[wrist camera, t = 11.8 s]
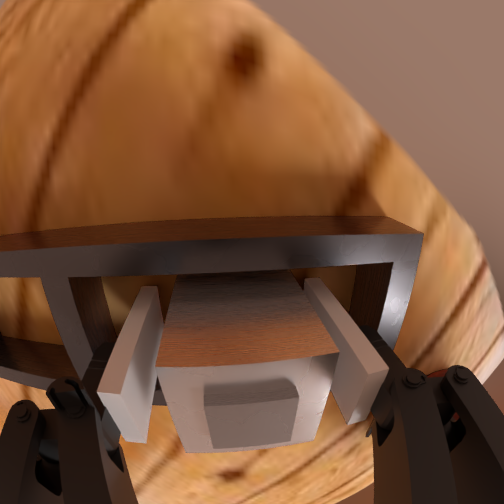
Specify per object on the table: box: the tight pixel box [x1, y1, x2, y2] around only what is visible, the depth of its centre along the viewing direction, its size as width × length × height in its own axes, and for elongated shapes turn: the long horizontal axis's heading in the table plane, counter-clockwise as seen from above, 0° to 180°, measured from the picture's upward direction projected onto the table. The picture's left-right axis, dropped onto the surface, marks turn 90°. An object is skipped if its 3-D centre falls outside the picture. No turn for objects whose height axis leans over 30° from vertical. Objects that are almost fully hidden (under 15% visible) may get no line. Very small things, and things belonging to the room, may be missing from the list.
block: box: [155, 269, 340, 453], centre depth 10 cm, size 4×4×7 cm
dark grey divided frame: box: [0, 216, 424, 406], centre depth 11 cm, size 26×8×3 cm, turn 90°
